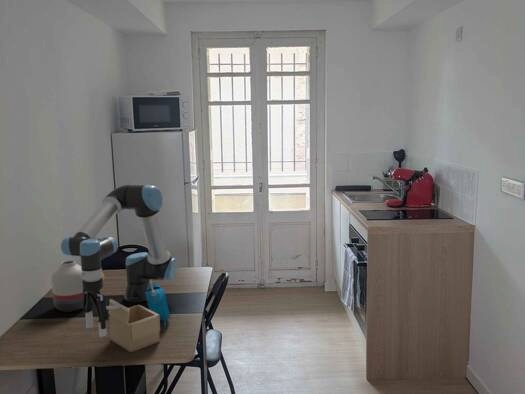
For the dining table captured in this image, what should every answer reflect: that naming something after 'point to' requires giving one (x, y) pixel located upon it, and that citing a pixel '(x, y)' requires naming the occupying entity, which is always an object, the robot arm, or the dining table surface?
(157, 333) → the carton
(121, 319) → the flap
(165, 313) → the blue rounded piece
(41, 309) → the dining table surface
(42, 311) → the dining table surface
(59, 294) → the vase
